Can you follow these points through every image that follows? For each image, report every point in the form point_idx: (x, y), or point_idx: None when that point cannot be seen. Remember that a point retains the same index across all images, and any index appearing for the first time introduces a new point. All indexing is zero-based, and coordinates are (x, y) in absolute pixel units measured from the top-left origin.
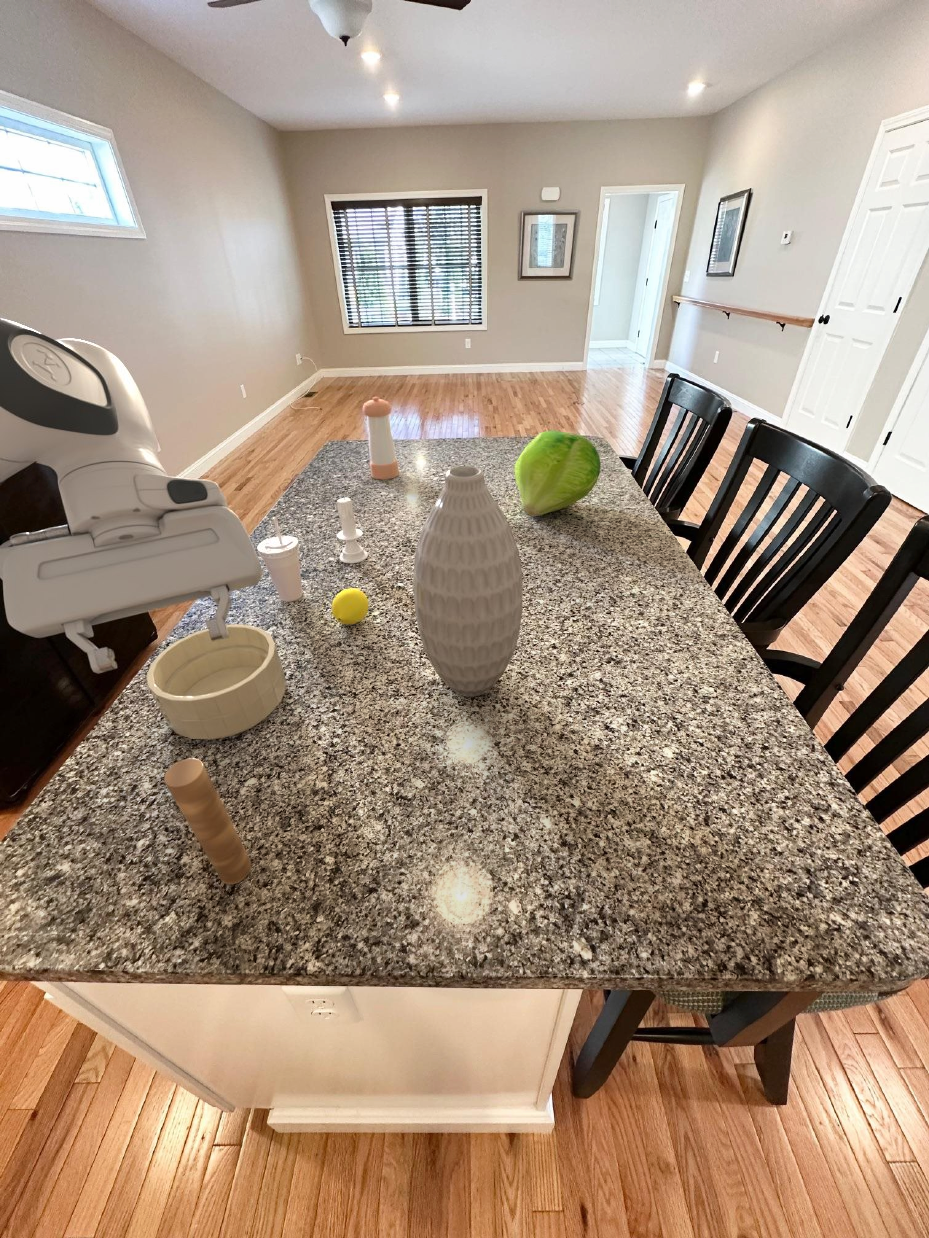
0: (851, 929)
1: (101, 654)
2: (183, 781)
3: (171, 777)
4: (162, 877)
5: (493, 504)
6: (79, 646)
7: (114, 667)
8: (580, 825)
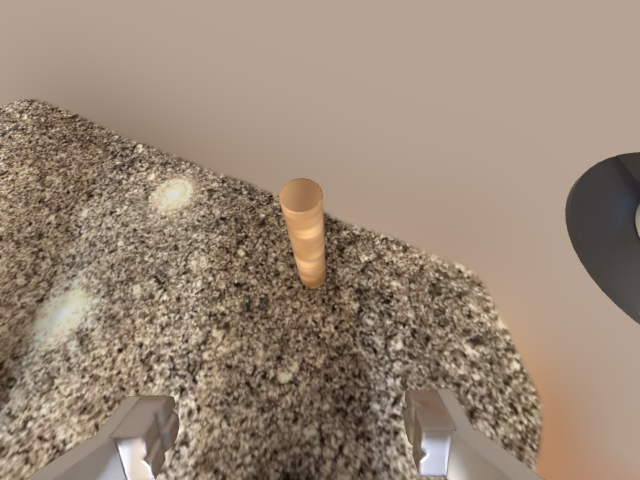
0: (27, 112)
1: (433, 415)
2: (301, 183)
3: (314, 192)
4: (373, 296)
5: None
6: (502, 450)
7: (406, 408)
8: (68, 202)
